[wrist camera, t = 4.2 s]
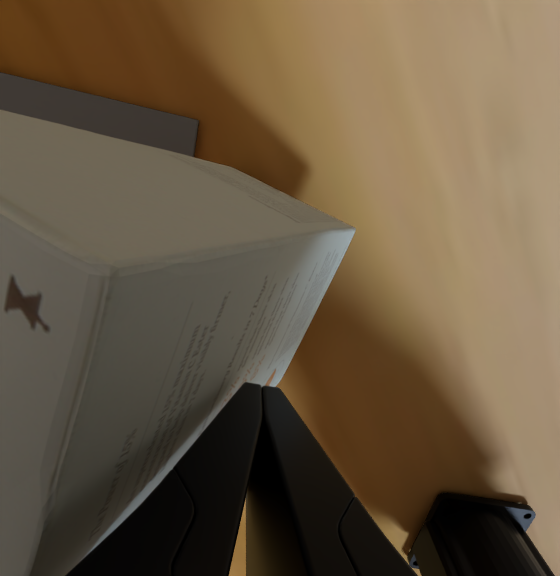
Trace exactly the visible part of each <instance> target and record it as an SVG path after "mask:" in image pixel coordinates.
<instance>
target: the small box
mask: <svg viewBox="0 0 560 576" xmlns="http://www.w3.org/2000/svg"><path fill="white" fill-rule="evenodd" d="M355 230H356V229H355V228H354V227H353V226H350V225H348V224H346V223H344V222H342V221H340V220H338V219H336V218H334V217H332V216H330V215H328V214H326V213H324V212H322V211H320V210H318V209H316V208H314V207H312V206H310V205H308V204H306V203H304V202H301V201H299V200H297V199H295V198H293V197H291V196H289V195H287V194H285V193H283V192H281V191H279V190H277V189H275V188H273V187H271V186H269V185H267V184H265V183H263V182H261V181H259V180H257V179H255V178H253V177H251V176H249V175H247V174H245V173H243V172H241V171H239V170H237V169H235V168H232V167H230V166H226V165H222V164H217V163H214V162H210V161H206V160H202V159H198V158H194V157H191V156H187V155H184V154H180V153H176V152H172V151H168V150H164V149H160V148H155V147H151V146H147V145H143V144H138V143H134V142H130V141H126V140H122V139H117V138H113V137H109V136H105V135H101V134H97V133H93V132H90V131H86V130H82V129H77V128H73V127H70V126H66V125H62V124H58V123H54V122H49V121H45V120H41V119H37V118H33V117H29V116H24V115H20V114H16V113H12V112H8V111H4V110H0V576H65V575H66V574H67V573H68V572H69V571H70V570H72V569H73V568H74V567H75V566H76V565H77V564H78V563H79V562H80V561H81V560H82V559H83V558H84V557H86V556H87V555H88V554H89V553H90V552H91V551H92V550H93V549H94V548H95V547H96V546H97V545H98V544H100V543H101V542H102V541H103V540H104V539H105V538H106V537H107V536H108V535H109V534H110V533H111V532H112V531H114V530H115V529H116V528H117V527H118V526H119V525H120V524H121V523H122V522H123V521H124V520H125V519H126V518H127V517H128V516H129V515H130V514H131V513H132V512H133V511H134V510H135V509H136V508H137V507H138V506H139V505H140V504H141V503H142V502H143V501H144V500H145V499H146V498H147V497H148V496H149V494H150V493H151V492H152V491H153V490H154V489H155V488H156V487H157V486H158V484H159V483H160V482H161V481H162V480H163V478H164V477H165V476H166V475H167V474H168V473H169V471H170V470H172V469H173V467H174V466H175V464H176V463H177V462H178V461H179V460H180V458H181V457H182V456H183V455H184V454H185V452H186V451H187V450H188V449H189V448H190V446H191V445H192V444H193V443H194V442H195V441H196V439H197V438H198V437H199V436H200V435H201V433H202V432H203V431H204V430H205V429H206V427H207V426H208V425H209V424H210V423H211V421H212V420H213V419H214V418H215V417H216V415H217V414H218V413H219V412H220V411H221V409H222V408H223V407H224V406H225V405H226V403H227V402H228V401H229V400H230V399H231V397H232V396H233V395H234V394H235V393H236V391H237V390H238V389H239V388H240V387H241V385H242V384H243V383H245V382H249V383H255V384H260V385H261V386H262V387H263V386H264V385H266V386H272V387H275V386H276V385H277V384H278V383H279V382H280V381H281V379H282V377H283V375H284V373H285V371H286V370H287V368H288V366H289V364H290V362H291V360H292V358H293V356H294V354H295V352H296V350H297V348H298V346H299V344H300V342H301V340H302V339H303V337H304V335H305V333H306V331H307V329H308V327H309V325H310V323H311V321H312V319H313V317H314V315H315V313H316V311H317V309H318V307H319V305H320V303H321V301H322V299H323V297H324V295H325V293H326V291H327V289H328V287H329V285H330V283H331V281H332V279H333V277H334V275H335V273H336V271H337V269H338V267H339V265H340V263H341V261H342V259H343V257H344V254H345V252H346V250H347V248H348V246H349V244H350V242H351V239H352V237H353V235H354V233H355Z"/></svg>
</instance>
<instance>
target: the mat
mask: <svg viewBox="0 0 560 576" xmlns="http://www.w3.org/2000/svg"><path fill="white" fill-rule="evenodd" d="M0 110H4V111H8V112H12V113H16V114H20V115H24V116H29V117H33V118H37V119H41V120H45V121H49V122H54V123H58V124H62V125H66V126H70V127H73V128H77V129H82V130H86V131H90V132H93V133H97V134H101V135H105V136H109V137H113V138H117V139H122V140H126V141H130V142H134V143H138V144H143V145H147V146H151V147H155V148H160V149H164V150H168V151H172V152H176V153H180V154H184V155H187V156H191V157H194V153H195V146H196V139H197V131H198V124H199V120H195V119H191V118H187V117H183V116H179V115H175V114H171V113H166V112H162V111H158V110H154V109H150V108H146V107H142V106H138V105H133V104H129V103H125V102H121V101H117V100H113V99H109V98H104V97H100V96H96V95H92V94H88V93H84V92H80V91H76V90H71V89H67V88H63V87H59V86H55V85H51V84H47V83H42V82H38V81H34V80H30V79H26V78H22V77H18V76H14V75H9V74H5V73H1V72H0Z"/></svg>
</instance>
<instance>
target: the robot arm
mask: <svg viewBox="0 0 560 576" xmlns="http://www.w3.org/2000/svg"><path fill="white" fill-rule="evenodd" d="M245 498H246V576H418V575H417V574H416V573H415V572H414V570H413V569H412V568H416V569H419V570H420V573H421V575H422V576H555V575H554V574H553V572H552V571H551V569H550V568H549V566H548V565H547V563H546V562H545V560H544V559H543V557H542V556H541V554H540V553H539V551H538V550H537V548H536V547H535V545H534V544H533V542H532V541H531V539H530V538H529V536H528V535H527V533H526V530H527V529H528V527H529V526H530V524H531V523H532V521H533V519H534V518H535V512H534V511H533V509H532V508H531V507H530V506H529V505H524V504H518V503H511V502H505V501H498V500H492V499H485V498H479V497H472V496H466V495H459V494H453V493H441V494H440V495H438V496H437V498H436V500H435V502H434V504H433V506H432V508H431V510H430V512H429V514H428V516H427V518H426V520H425V522H424V524H423V526H422V528H421V530H420V532H419V534H418V536H417V538H416V540H415V542H414V545H413V547H412V549H411V551H410V553H409V555H408V557H407V559H408V562H409V565H410V566H411V567H412V568H411V567H410V566H409V565H408V563H407V562H406V561H405V560H404V558H403V557H402V556H401V555H400V553H399V552H398V551H397V550H396V549H395V547H394V546H393V545H392V544H391V542H390V541H389V540H388V539H387V537H386V536H385V535H384V533H383V532H382V531H381V529H380V528H379V527H378V525H377V524H376V523H375V521H374V520H373V519H372V517H371V516H370V515H369V513H368V512H367V511H366V509H365V508H364V506H363V505H362V503H361V502H360V501H359V499H358V498H357V497H355V494H354V492H353V491H352V490H351V488H350V487H349V485H348V484H347V483H346V481H345V480H344V478H343V477H342V475H341V474H340V473H339V471H338V470H337V468H336V467H335V466H334V464H333V463H332V461H331V460H330V458H329V457H328V456H327V454H326V453H325V451H324V450H323V449H322V447H321V446H320V444H319V443H318V441H317V440H316V439H315V437H314V436H313V434H312V433H311V432H310V430H309V429H308V427H307V426H306V424H305V423H304V422H303V420H302V419H301V417H300V416H299V415H298V413H297V412H296V410H295V409H294V408H293V406H292V405H291V403H290V402H289V400H288V399H287V398H286V396H285V395H284V393H283V392H282V391H281V389H280V388H278V387H272V386H266V385H264V386H263V387H262V386H261V385H260V384H255V383H249V382H245V383H243V384H242V385H241V387H240V388H239V389H238V390H237V391H236V393H235V394H234V395H233V396H232V397H231V399H230V400H229V401H228V402H227V403H226V405H225V406H224V407H223V408H222V409H221V411H220V412H219V413H218V414H217V415H216V417H215V418H214V419H213V420H212V421H211V423H210V424H209V425H208V426H207V427H206V429H205V430H204V431H203V432H202V433H201V435H200V436H199V437H198V438H197V439H196V441H195V442H194V443H193V444H192V445H191V446H190V448H189V449H188V450H187V451H186V452H185V454H184V455H183V456H182V457H181V458H180V460H179V461H178V462H177V463H176V464H175V466H174V467H173V469H172V470H170V471H169V473H168V474H167V475H166V476H165V477H164V478H163V480H162V481H161V482H160V483H159V484H158V486H157V487H156V488H155V489H154V490H153V491H152V492H151V493H150V494H149V496H148V497H147V498H146V499H145V500H144V501H143V502H142V503H141V504H140V505H139V506H138V507H137V508H136V509H135V510H134V511H133V512H132V513H131V514H130V515H129V516H128V517H127V518H126V519H125V520H124V521H123V522H122V523H121V524H120V525H119V526H118V527H117V528H116V529H115V530H114V531H112V532H111V533H110V534H109V535H108V536H107V537H106V538H105V539H104V540H103V541H102V542H101V543H100V544H98V545H97V546H96V547H95V548H94V549H93V550H92V551H91V552H90V553H89V554H88V555H87V556H86V557H84V558H83V559H82V560H81V561H80V562H79V563H78V564H77V565H76V566H75V567H74V568H73V569H72V570H70V571H69V572H68V573H67V574H66V575H65V576H229V571H230V566H231V562H232V557H233V553H234V548H235V544H236V539H237V535H238V530H239V526H240V521H241V517H242V512H243V507H244V503H245Z"/></svg>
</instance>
